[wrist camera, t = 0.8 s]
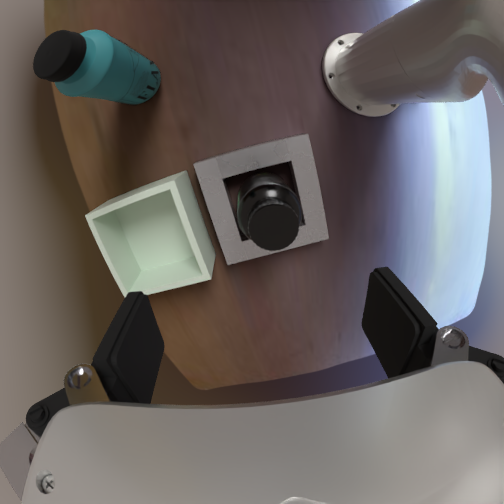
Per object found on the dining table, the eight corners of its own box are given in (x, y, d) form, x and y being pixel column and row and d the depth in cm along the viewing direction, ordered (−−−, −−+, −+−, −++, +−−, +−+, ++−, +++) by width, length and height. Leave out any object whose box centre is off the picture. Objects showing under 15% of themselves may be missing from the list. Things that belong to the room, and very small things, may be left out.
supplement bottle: (227, 202, 36) (222, 236, 25) (258, 160, 34) (266, 176, 23) (268, 229, 38) (280, 273, 27) (299, 191, 35) (324, 220, 25)
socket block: (302, 133, 32) (308, 133, 29) (322, 230, 38) (328, 238, 35) (197, 161, 33) (193, 164, 30) (228, 255, 39) (227, 265, 36)
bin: (186, 170, 34) (174, 180, 27) (215, 254, 39) (211, 279, 33) (108, 200, 35) (85, 215, 28) (141, 274, 40) (126, 299, 34)
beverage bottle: (155, 111, 30) (66, 101, 12) (113, 101, 29) (10, 94, 11) (173, 66, 27) (103, 11, 9) (130, 58, 26) (40, 16, 8)
